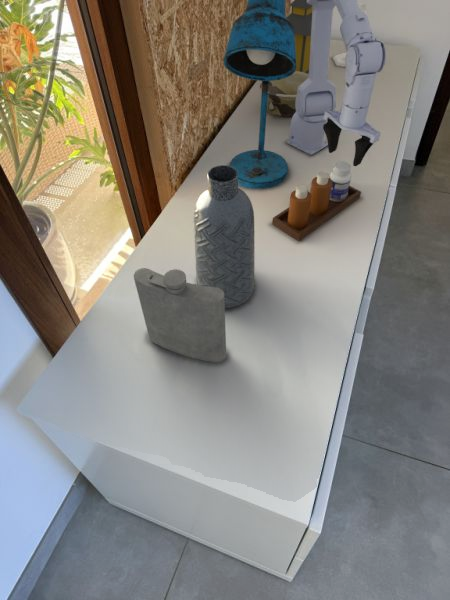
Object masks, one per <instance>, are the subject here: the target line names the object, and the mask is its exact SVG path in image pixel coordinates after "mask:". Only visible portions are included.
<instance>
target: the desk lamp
mask: <svg viewBox="0 0 450 600" xmlns="http://www.w3.org/2000/svg"><path fill="white" fill-rule="evenodd" d="M286 17H287V16H286V0H247V3H246V9H245V12H243V14H241V15H239V17H237V18H236V19H235V20H234V22H233V24H232V26H231V31H230V33H229V38H228V42H227V45H226V49H225V52H224V56H223V59H222V61H223V66H224V67H225V69H226V70H228V71H229V73H231V74H233V75H235V76H238V77H240V78H243V79H248V80H251V81H260V82H261V83H262V90H261V95H260V112H259V114H260V115H259V129H258V130H259V132H258V147H257V149H251V150H246V151H243V152H241V153H239V154H237V155H235V156H234V157H233V158H232V159H231V160H230V163H229V166H231V167H233V168H235V169H236V170H237V172H238V185H239V186H242V187H244V188H249V189H253V190H254V189H255V190H256V189H257V190H260V189H261V190H263V189H270V188H273V187H276V186H278V185H280V184H282V183H283V182H284V181H285V180H286V179H287V176H288V174H289V173H288V172H289V164H288V162H287V160H286V158H284V157H283V156H282V155H280V154H278V153H277V152H273V151H270V150H265V141H266V130H267V129H266V127H267V114H268V113H267V100H268V84H269V81H273V80H280V79H284V78H287V77H289V76H291V75H292V74H293V73H294V72H295V71H296V48H295V30H294V27H293V25H292V24H291V22H290V21H289V20H288V19H287V18H286Z"/></svg>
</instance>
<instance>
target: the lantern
mask: <svg viewBox="0 0 450 600" xmlns="http://www.w3.org/2000/svg"><path fill="white" fill-rule="evenodd" d="M289 7H291V12H290V13H289V15H288V16H285V17H286V18H287V19H288V20H289V21H290V22H291V24H292V25H293V27H294V30H295V48H296V71H297V72H304V73H307V74H309V62H310V45H311V27H312V5H310V4H308V3H307V0H293V1H292V2H291V3H290V4H289Z"/></svg>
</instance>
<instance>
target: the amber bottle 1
mask: <svg viewBox="0 0 450 600" xmlns="http://www.w3.org/2000/svg"><path fill="white" fill-rule="evenodd" d="M311 198H312V195H311V193H310V191H309V188H308V186H307V185H305V184H300V185H297V186H296V187H295V190H293V191H291V193H290V195H289V204H288V208H289V213H288V225H289V226H291V227H293V228H294V229H303V228H305V227H306V226H307V224H308V217H309V211H310V205H311Z"/></svg>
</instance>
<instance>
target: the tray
mask: <svg viewBox="0 0 450 600" xmlns="http://www.w3.org/2000/svg"><path fill="white" fill-rule="evenodd" d="M361 195H362V191H361V190H359V189H357V188H355V187H353V186H351V185H349V190H348V194H347V198H346V199H345V200H343V201H340V202H335V201H332V200H330V199H329V204H328V209H327V212H326V213H325V214H323V215H314V214H311V213H310V212H309V217H308V224H307V226H306V227H305V228H303V229H294V228H293V227H291V226H289V225H288V213H289V207H287V208H285V209H284V210H283V211H281V212H280V213H278V214H276V215H275V216H274V217H272V222H271V225H272V226H273V227H276V228H278V229H279V230H281V231H282V232H283V233H285V234H286V235H288V236H290V237H291V238H293V239H294V240H296V241H298V242H300V241H302V240H303V239H304V238H306V237H307V236H309V235H310V234H312V233H313V232H314V231H316V230H317V229H319V228H320V227H321V226H323V225H324V224H325V223H327V222H328V221H330V220H331V219H333V218H334V217H335V216H337V215H339V214H340V213H341V212H343V211H344V210H345V209H347V208H348V207H349V206H350V205H352V204H353V203H355V202H357V200H359V199H360V198H361Z"/></svg>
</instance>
